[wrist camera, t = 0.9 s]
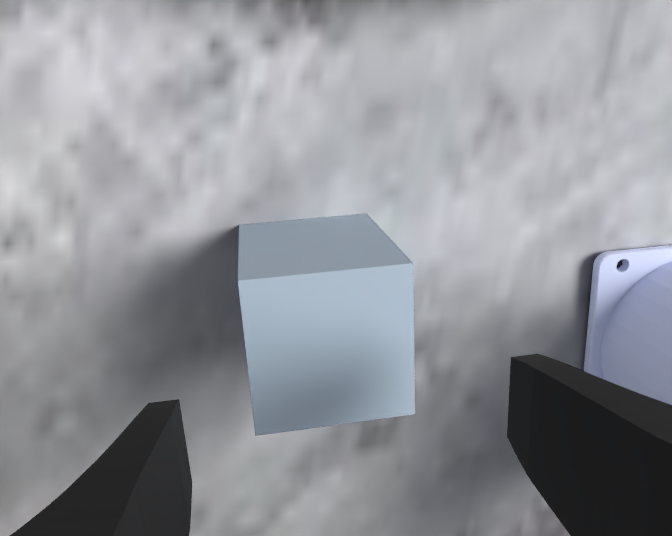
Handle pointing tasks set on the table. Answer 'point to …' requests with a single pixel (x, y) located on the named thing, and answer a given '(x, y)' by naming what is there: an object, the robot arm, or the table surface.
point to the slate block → (326, 322)
